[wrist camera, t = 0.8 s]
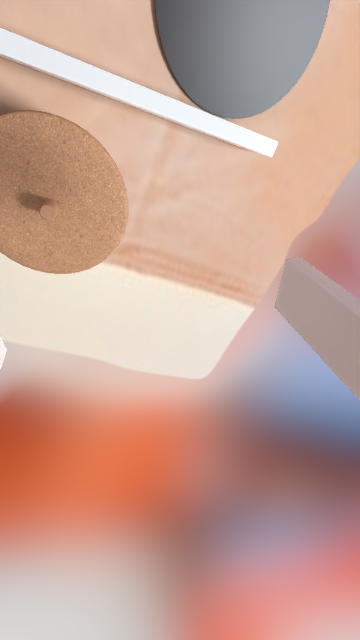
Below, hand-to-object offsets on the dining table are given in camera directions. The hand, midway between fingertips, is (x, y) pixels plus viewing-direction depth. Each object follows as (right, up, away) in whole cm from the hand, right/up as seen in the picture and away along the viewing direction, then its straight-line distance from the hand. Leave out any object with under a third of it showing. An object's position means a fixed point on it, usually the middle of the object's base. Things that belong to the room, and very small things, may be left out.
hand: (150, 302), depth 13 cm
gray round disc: (+6, +23, +9) cm, 26 cm away
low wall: (-2, +17, +11) cm, 21 cm away
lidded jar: (-9, +12, +13) cm, 20 cm away
